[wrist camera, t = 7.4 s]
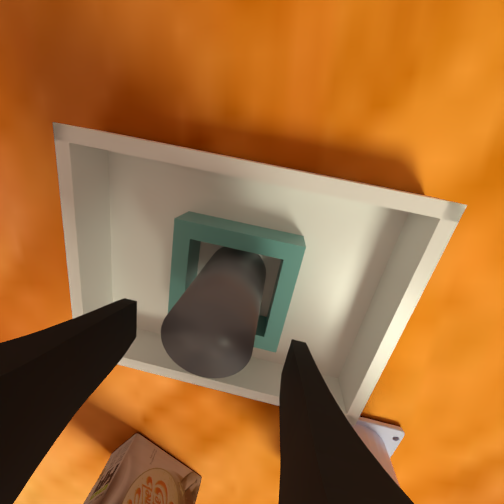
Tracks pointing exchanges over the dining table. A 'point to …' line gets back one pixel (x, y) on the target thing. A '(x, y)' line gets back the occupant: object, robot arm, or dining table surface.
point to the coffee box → (144, 477)
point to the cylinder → (217, 316)
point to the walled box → (251, 240)
